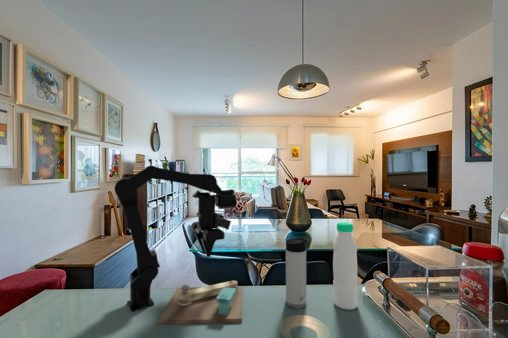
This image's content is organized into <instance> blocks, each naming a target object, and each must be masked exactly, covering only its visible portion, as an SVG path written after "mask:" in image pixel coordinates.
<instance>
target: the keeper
mask: <svg viewBox="0 0 508 338" xmlns="http://www.w3.org/2000/svg"><path fill="white" fill-rule="evenodd" d="M235 294H236V288H226V287H224V288H223V289H222V291H221V292H220V293H219V295H218V296H217V298H216V303H219V314H223V315H227V314H228V312H229V310H230V303H231V301H232V299H233V297H234V296H235ZM192 302H193V301H191V302H189V303H185V304H182V303H179V301H178V304H179V305H182V306H185V305H189V304H191V303H192Z"/></svg>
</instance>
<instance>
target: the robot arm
mask: <svg viewBox="0 0 508 338" xmlns="http://www.w3.org/2000/svg"><path fill="white" fill-rule="evenodd" d="M153 179H156V180H162V181H169V182H173V183H180V184H185V185H189V186H191V187H194V188H197V190H196V191H195V193H193V194H192V197H193V198H195V199H197V200H198V203H197V205H198V208H197V209H198V212H196V217H198V221H193V222H192V224H191V225H190V226H191V228H190V229H191V231H192V232H194V235H195V238H196V240H197V242H198V244H199V247H200V249H201V250H202V254H206V255H205V256H206V257H207V258H209V257H210V258H211V255H212V252H213V249H214V245H215V243H216V242H217V241H219V240H220V241H221V240H224V239H226V238H225V232H224V231H223V230H222V229H225V230H227V231H228V230H229V229H230V226H231V224H232V220H229V219H227V218H225V216H224V215H223V214H220V213H217V212H216V207H217V208H218V210H223V209H225V210H226V209H227V210H228V209H234V208H235V209H236V207H237V202H238V199H237V195H236V194H235V189H225V190H224V189H222V188H221V187H220V186H219V185H218V180H217V178H216V177H215V175H214V174H210V173H209V174H208V173H188V172H182V171H178V170H174V169H173V170H172V169H166V168H161V167H157V166H155V165H148V166H146V167H145V168H144V169H142V170H140V171H139V172H137V173H135V174H133V175H132V176H131V177H124V178H123V177H122V178H121V179H119V180H117V182H116V183H115V185H114V192H115V194H116V196H117V198H118V200H119V202H120V204H121V206H122V208H123V209H124V212H125V215H126V219H127V222H128V223H127V224H128V226H129V231H130V233H131V238H132V242H133V245H134V248H135V252H136V253H135V254H136V255H135V257H136V267H135V268H134V270H132V272H131V273H130V274H129V281H130V285H129V289H130V290H129V292H130V293H129V297H130V298H129V299H130V300H127V302H126V304H127V306H128V308H129V310H130V312H136V311H139V310H141V309H145V308H148V307H151V306H154V305H155V302H154V301H153V299H152V298H151V287H152V282H153V280H155V279H156V278H157V276H158V274H159V268H161V265H160V263H159V260H158V255H157V252H156V249H153V250H150V247H149V245H148V241H147V237H146V233H145V230H144V226H143V222H142V219H141V215H140V211H139V205H138V189H139V188H140V187H142V186H143V185H146V183H148V182H150V181H151V180H153ZM200 190H201V191H204V192H201V191H200ZM205 191H207V192H205ZM209 192H210V193H214V194H210V193H209ZM220 228H222V229H220ZM195 231H196V232H195Z"/></svg>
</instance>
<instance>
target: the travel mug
mask: <svg viewBox="0 0 508 338" xmlns="http://www.w3.org/2000/svg"><path fill="white" fill-rule="evenodd" d="M307 242H308V238H302V237H294V238H289V239H287V240H286V241H285V303H286V304H287V306H289V307H291V308H293V309H302V308H304V307H306V305H307V249H306V248H307V244H306V243H307Z"/></svg>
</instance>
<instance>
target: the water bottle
mask: <svg viewBox="0 0 508 338" xmlns="http://www.w3.org/2000/svg"><path fill="white" fill-rule="evenodd" d="M336 230H337V235H336V238H335V240H334V241H333V245H332V248H333V255H332V270H333V271H332V273H333V282H332V286H333V294H332V296H333V297H332V300H333V303H334V305H335V306H336V307H338V308H340V309H342V310H347V311H348V310H349V311H350V310H354V309H356V308H357V307H358V304H359V303H358V301H359V299H358V283H357V281H358V257H357V256H358V255H357V252H358V246H357V244H356V242H355V239H354V238H353V236H352V234H353V230H354V225H353V224H352V223H351V222H343V221H342V222H341V221H340V222H337V223H336Z"/></svg>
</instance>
